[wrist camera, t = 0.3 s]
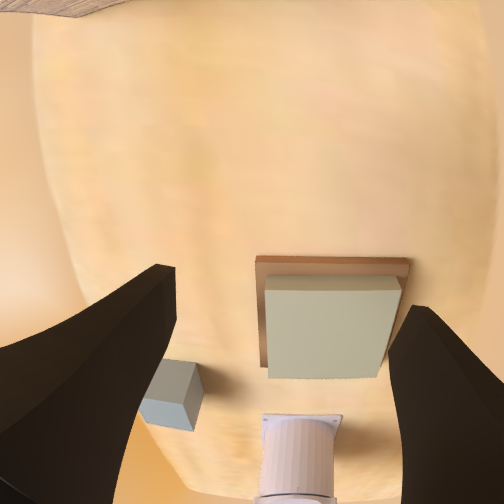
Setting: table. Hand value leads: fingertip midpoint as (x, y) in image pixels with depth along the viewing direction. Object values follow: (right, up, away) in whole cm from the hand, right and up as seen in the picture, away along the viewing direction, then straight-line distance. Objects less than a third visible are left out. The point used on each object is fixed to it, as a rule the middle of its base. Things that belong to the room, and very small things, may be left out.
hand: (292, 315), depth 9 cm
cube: (-8, -9, +18) cm, 22 cm away
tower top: (+4, -3, +12) cm, 12 cm away
